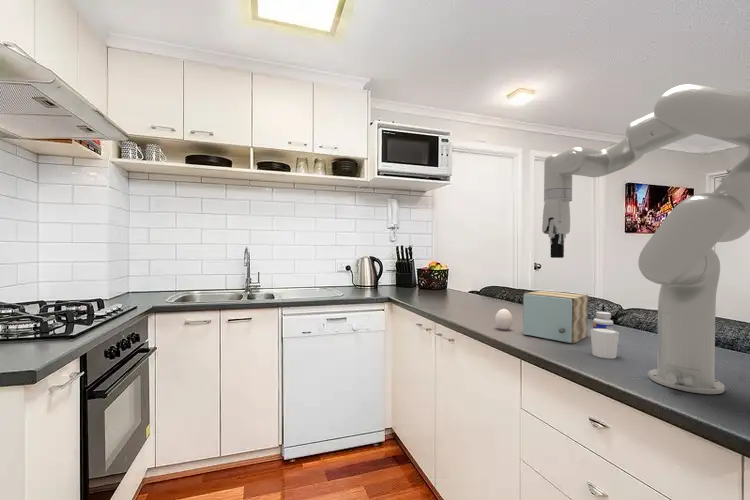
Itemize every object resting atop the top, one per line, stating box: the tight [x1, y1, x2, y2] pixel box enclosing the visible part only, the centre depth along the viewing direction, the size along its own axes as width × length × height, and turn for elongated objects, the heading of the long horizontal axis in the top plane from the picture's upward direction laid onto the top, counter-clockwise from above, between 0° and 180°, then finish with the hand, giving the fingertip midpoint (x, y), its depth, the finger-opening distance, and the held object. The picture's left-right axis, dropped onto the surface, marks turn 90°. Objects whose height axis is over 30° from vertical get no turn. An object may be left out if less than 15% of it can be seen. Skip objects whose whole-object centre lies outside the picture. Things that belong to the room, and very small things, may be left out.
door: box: [522, 294, 572, 344], centre depth 115 cm, size 2×15×14 cm, turn 42°
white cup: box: [589, 327, 620, 360], centre depth 99 cm, size 7×7×7 cm
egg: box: [494, 308, 514, 330], centre depth 130 cm, size 6×6×8 cm
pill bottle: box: [592, 311, 614, 330], centre depth 112 cm, size 5×5×10 cm
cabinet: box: [522, 290, 589, 344], centre depth 121 cm, size 14×16×14 cm
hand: (557, 257), depth 106 cm, fingers closed
